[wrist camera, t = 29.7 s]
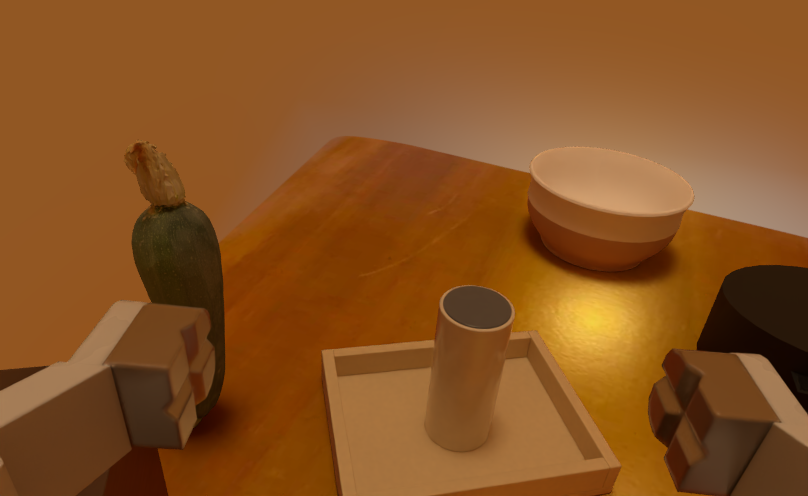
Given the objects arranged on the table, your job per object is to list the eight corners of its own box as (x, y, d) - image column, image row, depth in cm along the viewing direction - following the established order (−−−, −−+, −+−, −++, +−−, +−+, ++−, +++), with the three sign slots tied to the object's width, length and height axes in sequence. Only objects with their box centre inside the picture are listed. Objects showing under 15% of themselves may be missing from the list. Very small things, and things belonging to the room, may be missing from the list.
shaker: (450, 463, 36) (472, 339, 31) (411, 416, 39) (424, 295, 34) (503, 434, 38) (531, 314, 33) (462, 392, 41) (481, 276, 36)
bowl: (512, 270, 56) (527, 197, 52) (519, 199, 70) (531, 137, 66) (683, 300, 54) (713, 226, 50) (656, 221, 68) (678, 158, 63)
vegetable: (222, 387, 41) (186, 113, 30) (251, 426, 38) (222, 140, 28) (159, 415, 38) (96, 127, 28) (185, 459, 36) (126, 158, 25)
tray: (343, 537, 32) (344, 508, 31) (321, 376, 42) (321, 349, 41) (610, 493, 36) (622, 465, 34) (530, 355, 46) (536, 329, 45)
